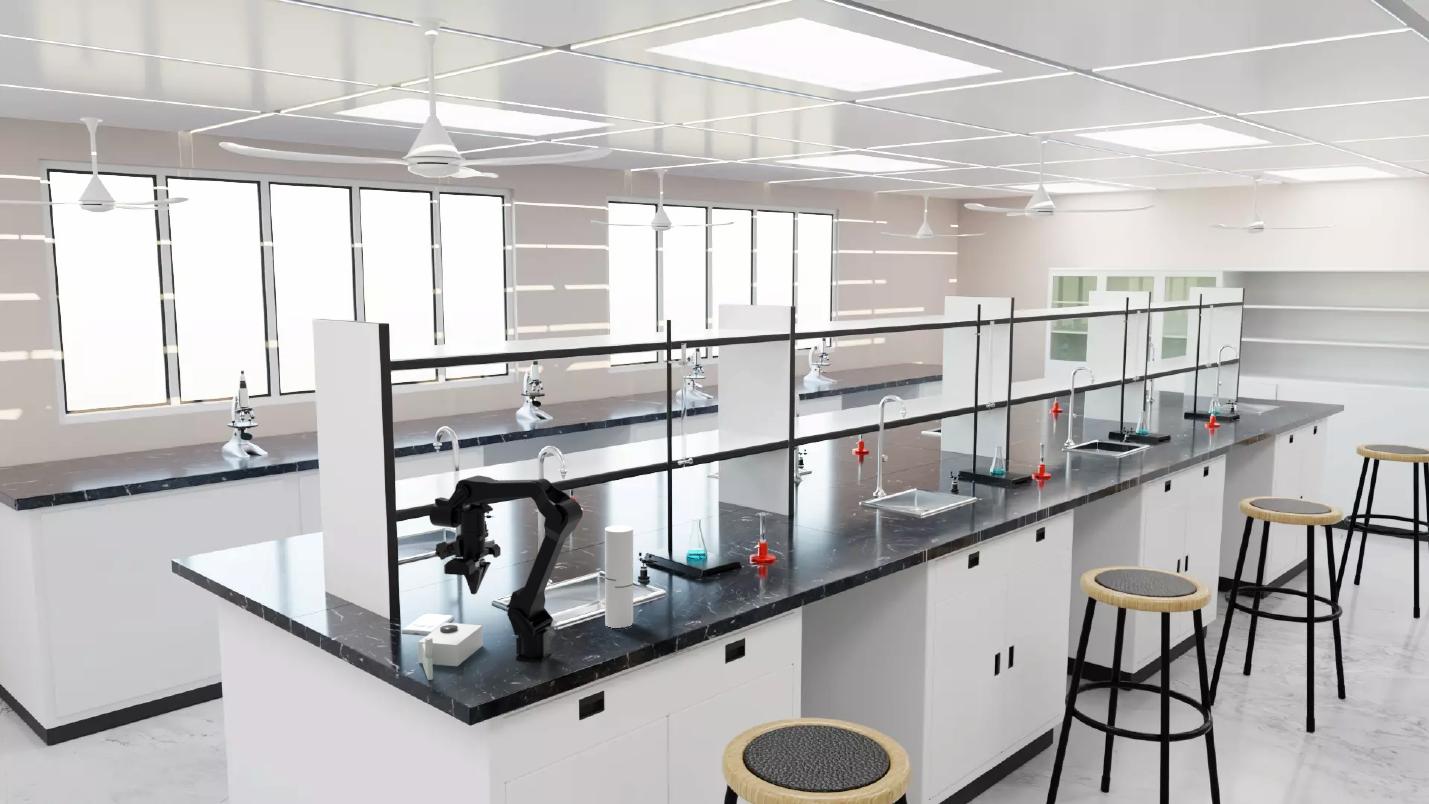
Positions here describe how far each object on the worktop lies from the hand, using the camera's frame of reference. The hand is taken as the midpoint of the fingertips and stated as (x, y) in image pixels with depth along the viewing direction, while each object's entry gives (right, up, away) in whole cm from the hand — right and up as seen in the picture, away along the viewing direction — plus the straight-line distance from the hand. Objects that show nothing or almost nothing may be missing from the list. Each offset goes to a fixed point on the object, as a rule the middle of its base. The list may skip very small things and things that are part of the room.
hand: (474, 593), depth 239 cm
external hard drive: (-15, -12, +16) cm, 25 cm away
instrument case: (-4, -13, -4) cm, 15 cm away
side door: (-7, -14, -15) cm, 22 cm away
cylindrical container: (+33, -12, +18) cm, 39 cm away
